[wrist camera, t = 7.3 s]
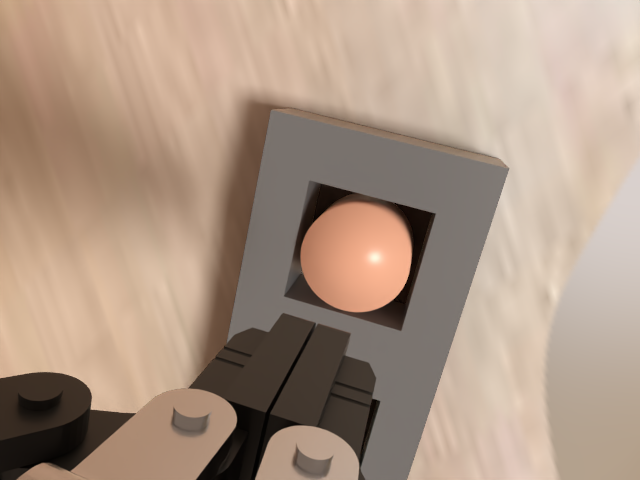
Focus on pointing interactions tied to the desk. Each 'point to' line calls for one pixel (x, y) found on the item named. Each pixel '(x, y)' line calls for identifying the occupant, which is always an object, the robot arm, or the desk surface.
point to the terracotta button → (358, 253)
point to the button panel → (429, 278)
